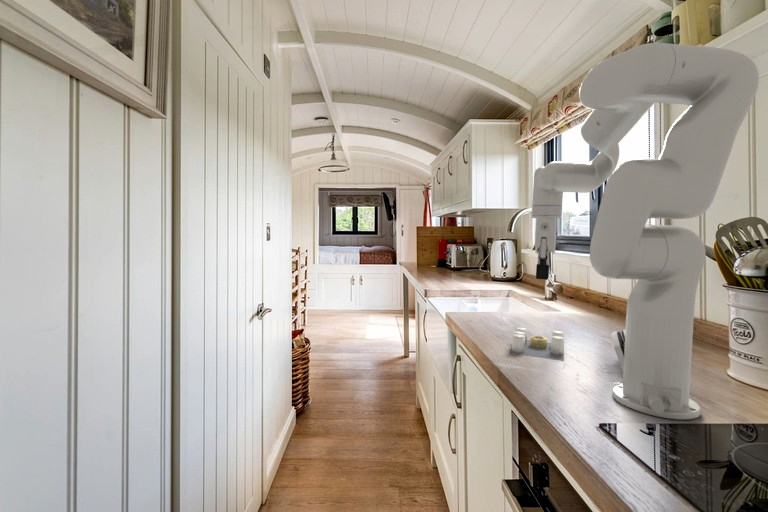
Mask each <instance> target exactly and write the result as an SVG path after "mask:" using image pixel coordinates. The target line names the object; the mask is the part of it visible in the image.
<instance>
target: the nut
mask: <svg viewBox="0 0 768 512" xmlns="http://www.w3.org/2000/svg"><path fill="white" fill-rule="evenodd" d="M547 343H548V337H545V336H542V335H531V336H530V346H531V347H535V348H547Z"/></svg>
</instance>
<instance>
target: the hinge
mask: <svg viewBox="0 0 768 512" xmlns="http://www.w3.org/2000/svg"><path fill="white" fill-rule="evenodd" d="M625 331H626V329H622V330H621V331H619V330H615V331H613V332H611V339H612V343H613V348H614V351H615V354H616V357H617V359H618V363H619V365H620V368H621V372H622V373H623V371H624V351H625Z"/></svg>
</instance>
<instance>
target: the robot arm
mask: <svg viewBox="0 0 768 512" xmlns="http://www.w3.org/2000/svg"><path fill="white" fill-rule="evenodd" d="M759 81H760V77H759V70H758V67H757V65H756V64H755V62H754V60H752V59H751V57H749V56H747V55H746V54H744V53H742V52H739V51H735V50H733V49H727V48H722V47H721V48H720V47H714V46H703V45H693V44H691V45H688V44H680V43H679V44H677V43H669V42H666V43H665V42H651V43H650V42H649V43H645V44H640V45H638V46H635V47H632V48H630V49H627V50H624V51H622V52H620V53H617V54H614V55H611V56H609V57H608V58H607V57H606V58H605V59H602V60H600V61H599V62H598V63H597V64H595V65H594V66H592V68H591V69H590V70H589V71H588V72H587V73H586V75H585V76H584V78H583V80H582V82H581V83H580V87H579V90H578V97H579V101H580V104H581V105H582V106H583V107H585V108H586V109H590V110H592V111H591V112H590V113H589V115H588V116H587V118H585V120H584V122H582V125H581V127H580V135H581V136H582V139H583V140H584V141H585V142H586V143H587V144H588V145H589V146H590V148H591V147H592V149H594V150H595V151H597V152H598V153H597V154H596V155H595V157H594V158H593V159H592V160H590V161H589V162H582V161H562V160H561V161H560V160H559V161H558V160H557V161H551V162H548V163H547V164H546V165H544V166H540V167H537V168H536V169H535V171H534V173H533V174H534V175H533V187H532V188H533V189H532V201H531V202H532V203H531V219H535V226H534V227H535V229H534V232H535V233H534V248H535V249H534V250H535V253H536V255H537V264H536V270H535V279H536V280H546V281H548V280H549V278H550V277H549V275H550V264H549V261H550V253H551V255H555V254H556V245H557V231H558V230H557V227H558V220H557V219H562V214H563V213H562V212H563V211H562V210H563V208H562V207H563V196H564V193H578V194H579V193H580V194H581V193H582V194H585V193H591V192H594V191H595V190H597V189H599V188H600V186H602V185H603V184H604V183H605V182H606V184H605V186H604V189H603V193H602V196H601V201H600V204H599V208H598V213H597V216H596V221H595V223H594V228H593V232H592V237H591V240H590V246H589V260H590V264H591V267H592V268H593V270H594V271H595V273H597V274H598V275H600V276H601V277H603V278H608V279H611V280H612V279H614V280H637V281H636V283H635V285H634V286H633V287H632V290H631V291H630V293H629V296H628V299H627V303H626V313H625V314H626V316H625V330H626V331H625V351H624V371H623V372H622V373H623V375H622V384H617V385H615V386H614V387H612V391H611V393H612V394H611V395H612V396H613V399H614V400H616V402H618V403H620V404H621V405H623V406H625V407H626V408H627V407H628V408H629V409H632V410H634V411H637V412H640V413H643V414H646V415H651V416H655V417H658V418H664V419H665V418H666V419H671V420H684V421H685V420H686V421H687V420H693V419H697V418H699V417H700V416H701V405H699V404H698V403H697V402H696V401H694V400H693V399H691V398H690V388H691V370H692V369H691V368H692V353H693V335H694V321H695V320H694V319H695V309H696V308H695V305H696V297H697V290H698V286H699V282H700V278H701V275H702V272H703V269H704V265H705V262H706V246H705V244H704V241H703V239H701V237H700V236H699V235H698V234H697V233H696V232H694V231H692V230H690V229H688V228H686V227H682V226H678V225H671V224H667V225H666V224H647V221H648V220H649V219H664V220H684V219H692V218H693V219H694V218H697V217H699V216H701V215H703V214H704V213H706V212H707V211H708V209H710V207H711V205H712V204H713V201H714V200H715V197H716V194H717V192H718V189H719V186H720V184H721V180H722V178H723V175H724V172H725V169H726V166H727V163H728V160H729V158H730V155H731V152H732V149H733V146H734V142H735V140H736V136H737V134H738V132H739V130H740V127H741V125H742V124H743V122H744V120H745V117H746V116H747V113H748V112H749V110H750V108H751V106H752V104H753V102H754V100H755V97H756V94H757V92H758V90H759V89H758V88H759V83H760V82H759ZM655 103H657V104H669V105H670V104H672V105H674V104H675V105H685V106H689V107H688V108H687V109H686V110H685V111H683V113H682V114H680V116H678V118H677V119H676V120H675V121H674V122H673V124H672V125H671V127H670V128H669V130H668V132H667V134H666V136H665V140H664V143H663V144H664V145H663V147H662V148H663V149H662V150H661V153H660V155H659V157H658V158H643V157H642V158H634V159H629V160H627V161H625V162H623V163H621V164H620V165H619V166H618V163H619V162H618V161H619V159H620V146H619V144H620V142H621V141H622V140H623V138H624V137H626V135H627V134H628V133H629V132H630V131H631V130H632V128H634V127H635V126H636V125H637V123H638V122H639V121H640V120H641V119H642V118H643V117H644V116H645V114H646V113H647V112H649V110H650V109H651V107H653V106H654V104H655ZM617 166H618V167H617Z"/></svg>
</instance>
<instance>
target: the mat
mask: <svg viewBox="0 0 768 512" xmlns="http://www.w3.org/2000/svg"><path fill="white" fill-rule="evenodd" d="M550 351H551V342H547V348H535V347H531V346H530V340H529V339H527V344H525V349H524V353H516V352H513V351H512V348H510V351H509V354H515V355H521V356H526V357H528V356H529V357H535V358H543V359H546V360H547V359H549V360H555V361H562V362H564V360H565V352H564V353H563V355H555V354H552V353H550Z"/></svg>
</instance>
